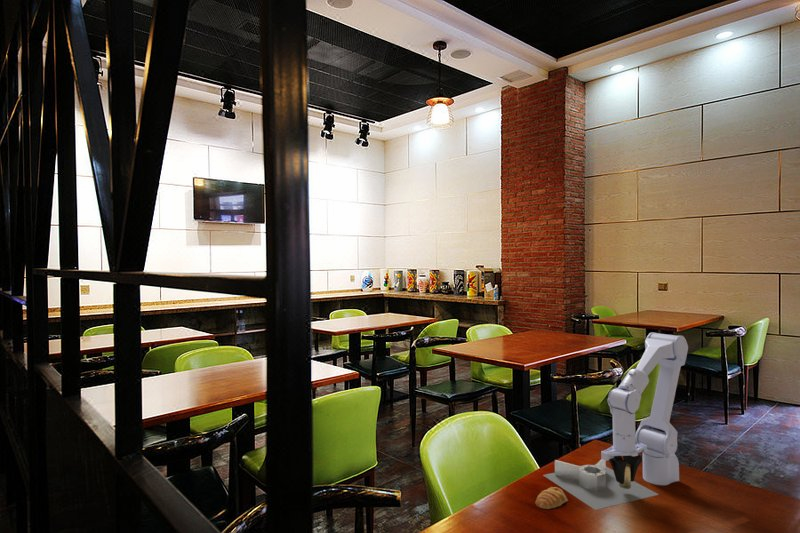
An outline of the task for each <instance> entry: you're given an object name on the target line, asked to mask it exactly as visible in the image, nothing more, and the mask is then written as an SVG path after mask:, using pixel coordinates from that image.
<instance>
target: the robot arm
mask: <svg viewBox="0 0 800 533" xmlns="http://www.w3.org/2000/svg"><path fill="white" fill-rule="evenodd" d="M644 348H645V350H644V352H643V354H642V356H641V358H640V360H639V361H638V364H637V366H636V367H635V368H632V369H631V368H630V369H629V371H628V372H627V373H626V374H625V376H624V378H623V379H622V380H621V382H620V384H619V385H618V387H615V388H613V389H611V390H610V391H609V392H608V396H607V397H608V398H607V401H606V402H607V404H608V406H609V412H610V414H611V415H612V445H611V446H610V447H608V448H607V449H604V450H601V451H600V452H601V453H600V456H601V457H600V458H601V459H604V460H606V462H607V461H608V463H610V465H611V468H612V470H613V471H614V474H615V478H616V481H617V482H619V483H621V484H624V479H625V468H626V465H627V463H628V464H630V465H631V481H632V482H633V481H634V482H635V477H636V474H637V470H638V468H639V467H640V464H641V463H642V478H643V480H644V481H646V482H647V483H649V484H651V485H656V486H668V485H670V484H672V483H675V482H680V467H679V466H680V463H679V459H678V457H677V455H676V454H675V453H676V451H677V449H678V430H677V429H676V428H675V427H674V426H673V425H672V424H671V422H670V420H671V417H672V416H671V415H672V412H673V406H674V402H675V397H676V390H677V387H678V382H679V376H680V373H681V372H680V371H681V367H682V366H685V365H686V361H687V355H688V351H689V344H688V342H687V340H686V338H685V336H684V335H673V334H665V333H658V332H649V333H648V335H647V336H646V338H645V340H644ZM657 365H659V366H660V367H659V368H660V369H659V373H658V377H657V382H656V386H655V393H654V396H653V402H652V405H651V410H650V416H648V417H646V418H644V419H642V420H641V421H640V423H639V425H638V428H637V430H636V412H637V411H638V410H639V408H640V404H641V400H642V393H643V392H644V391H645V389H646V387H647V386H648V385H649V383H650V378H649V375H650V373H652V372H653V370H654V369H655V367H656V366H657ZM657 429H658V430H657ZM640 453H642V455H640Z"/></svg>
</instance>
